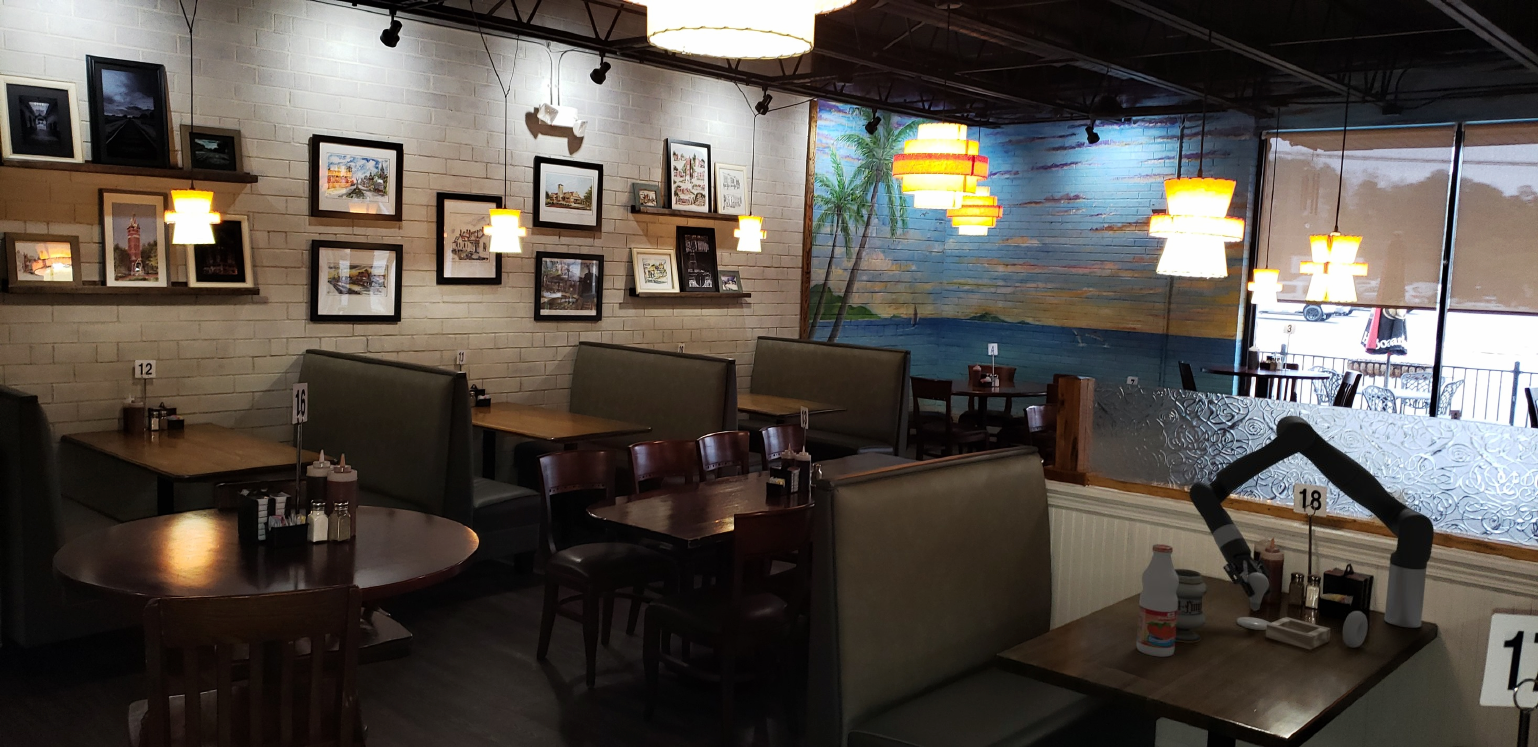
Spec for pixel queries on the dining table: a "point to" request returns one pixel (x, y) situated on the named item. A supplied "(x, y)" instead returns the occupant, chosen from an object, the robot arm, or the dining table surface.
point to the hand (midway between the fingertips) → (1260, 594)
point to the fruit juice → (1158, 605)
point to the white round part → (1252, 623)
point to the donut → (1355, 629)
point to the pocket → (1298, 633)
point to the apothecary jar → (1189, 605)
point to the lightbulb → (1257, 589)
